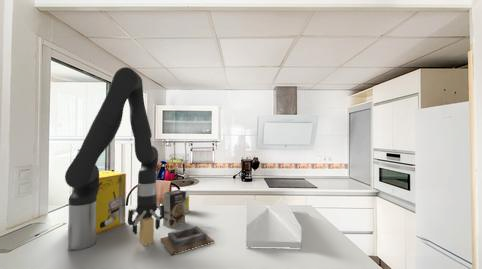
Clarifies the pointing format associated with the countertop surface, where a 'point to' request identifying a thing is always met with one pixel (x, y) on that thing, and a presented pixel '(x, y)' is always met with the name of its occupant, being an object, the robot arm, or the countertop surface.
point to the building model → (271, 225)
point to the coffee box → (174, 208)
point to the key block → (146, 230)
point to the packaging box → (110, 200)
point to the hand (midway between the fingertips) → (146, 231)
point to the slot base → (185, 239)
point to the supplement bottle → (186, 201)
